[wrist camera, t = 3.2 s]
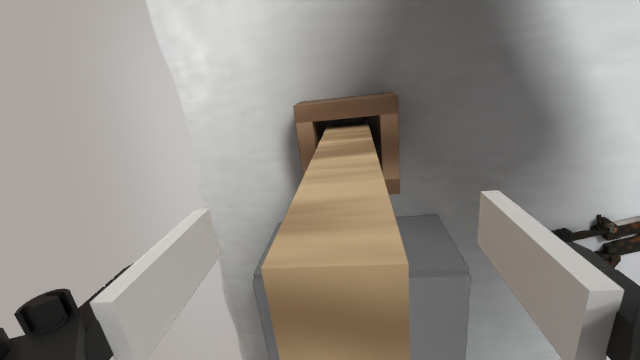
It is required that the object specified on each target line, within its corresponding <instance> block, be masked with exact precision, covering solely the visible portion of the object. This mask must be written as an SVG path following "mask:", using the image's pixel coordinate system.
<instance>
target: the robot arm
mask: <svg viewBox="0 0 640 360" xmlns="http://www.w3.org/2000/svg"><path fill="white" fill-rule="evenodd" d="M477 245H478V246H479V247H480V249H481V250H482V251H483V253H484V254H485V256H486V257H487V258H488V260H489V261H490V262H491V264H492V265H493V266H494V268H495V269H496V270H497V272H498V273H499V274H500V276H501V277H502V278H503V280H504V281H505V283H506V284H507V285H508V287H509V288H510V289H511V291H512V292H513V293H514V295H515V296H516V297H517V299H518V300H519V301H520V303H521V304H522V306H523V307H524V308H525V310H526V311H527V312H528V314H529V315H530V316H531V318H532V319H533V320H534V322H535V323H536V324H537V326H538V327H539V329H540V330H541V331H542V333H543V334H544V335H545V337H546V338H547V339H548V341H549V342H550V343H551V345H552V346H553V347H554V349H555V350H556V352H557V353H558V354H559V356H560V357H561V358H562V360H606V357H607V356H608V357H609V358H610V359H611V360H640V286H639V285H637V284H636V283H635V282H633V281H632V280H631V279H629V278H628V277H627V276H625V275H624V274H622V273H621V272H620V271H618V270H615V269H614V267H613V266H612V265H610V264H609V263H608V262H606V261H605V262H604V260H603V259H602V258H601V257H599V256H598V255H597V254H595V253H594V252H593V251H591V250H590V249H587V248H585V247H583V246H581V245H578V244H576V243H574V242H563V241H562V240H561V239H559V238H558V237H557V236H556V235H554V234H553V233H552V232H551V231H549V230H548V229H547V228H546V227H544V226H543V225H542V224H541V223H539V222H538V221H537V220H535V219H534V218H533V217H532V216H530V215H529V214H528V213H527V212H525V211H524V210H523V209H522V208H520V207H519V206H518V205H517V204H515V203H514V202H513V201H512V200H510V199H509V198H508V197H507V196H505V195H504V194H503V193H501V192H500V191H499V190H495V191H481V194H480V209H479V223H478V237H477ZM219 257H220V251H219V247H218V243H217V239H216V235H215V231H214V227H213V223H212V219H211V216H210V212H209V209H197V210H194V211H193V212H191V214H189V215H188V216H187V217H186V218H185V219H184V220H183V221H182V222H180V223H179V224H178V225H177V226H176V227H175V228H173V229H172V230H171V231H170V232H169V233H168V234H167V235H165V236H164V237H163V238H162V239H161V240H160V241H159V242H158V243H156V244H155V245H154V246H153V247H152V248H151V249H150V250H148V251H147V252H146V253H145V254H144V255H143V256H142V257H141V258H139V259H138V260H137V261H136V262H135V263H133V264H132V265H130V266H128V267H126V268H125V269H123V270H122V271H121V272H120V273H119V274H117V275H116V276H115V277H114V279H112V280H110V281H109V282H108V283H107V284H106V286H105V287H102V288H101V289H100V290H99V291H98V292H97V293H95V294H94V295H93V296H92V297H91V298H90V299H89V300H87V301H86V302H85V303H84V304H83V305H82V306H80V307H79V308H78V307H77V305H76V303H75V301H74V299H73V297H72V295H71V292H70V290H68V289H56V290H53V291H50V292H46V293H44V294H42V295H39V296H37V297H35V298H33V299H32V300H30V301H28V302H26V303H25V304H24V305H23V306H21V307H20V308H19V309H18V310H17V311H16V313H15V314H14V315H15V317H16V318H17V320H18V322H19V324H20V325H21V327H22V329H23V331H24V333H25V335H24V336H19V337H15V338H11V339H9V338H8V336H7V334H6V333H5V331H4V329H3V328H0V360H109V359H110V358H111V357H112V356H113V357H114V359H115V360H147V358H148V357H149V355H150V354H151V352H152V351H153V350H154V348H155V347H156V345H157V344H158V343H159V341H160V340H161V338H162V337H163V336H164V334H165V333H166V331H167V330H168V329H169V327H170V326H171V324H172V323H173V321H174V320H175V319H176V317H177V316H178V314H179V313H180V312H181V310H182V309H183V307H184V306H185V305H186V303H187V302H188V300H189V299H190V298H191V296H192V295H193V293H194V292H195V290H196V289H197V287H198V286H199V285H200V283H201V282H202V280H203V279H204V278H205V276H206V275H207V274H208V272H209V271H210V269H211V268H212V266H213V265H214V264H215V262H216V261H217V259H218V258H219Z"/></svg>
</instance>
